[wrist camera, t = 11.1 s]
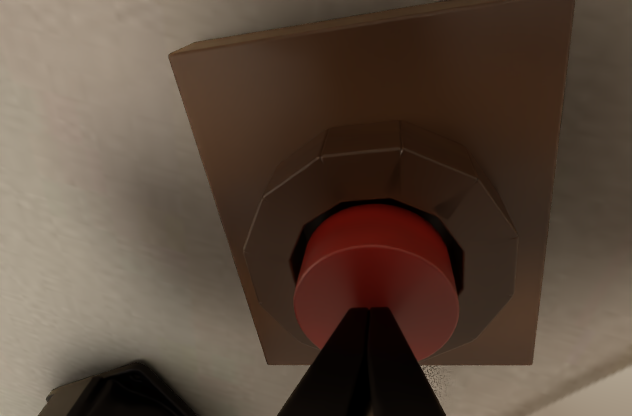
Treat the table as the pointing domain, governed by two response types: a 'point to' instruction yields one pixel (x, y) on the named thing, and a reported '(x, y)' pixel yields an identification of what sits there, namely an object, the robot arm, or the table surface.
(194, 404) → the table surface
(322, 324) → the red button
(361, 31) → the button block
